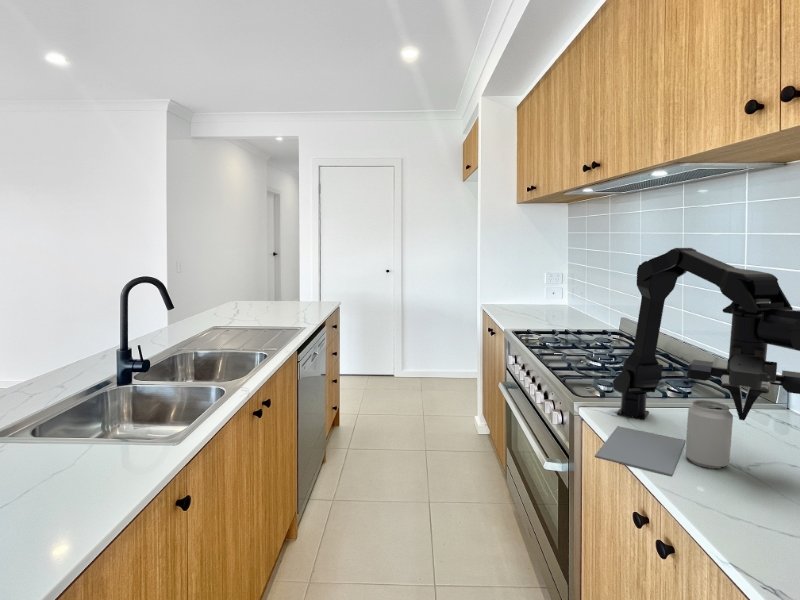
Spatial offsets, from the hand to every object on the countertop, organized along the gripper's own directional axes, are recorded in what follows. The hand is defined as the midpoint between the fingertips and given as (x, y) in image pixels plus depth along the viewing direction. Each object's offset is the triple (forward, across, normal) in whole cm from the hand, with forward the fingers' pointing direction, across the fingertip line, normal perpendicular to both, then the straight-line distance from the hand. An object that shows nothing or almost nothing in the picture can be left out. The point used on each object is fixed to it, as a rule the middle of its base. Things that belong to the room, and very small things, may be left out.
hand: (741, 419), depth 93 cm
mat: (+10, -17, -1) cm, 20 cm away
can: (+10, -5, 0) cm, 11 cm away
